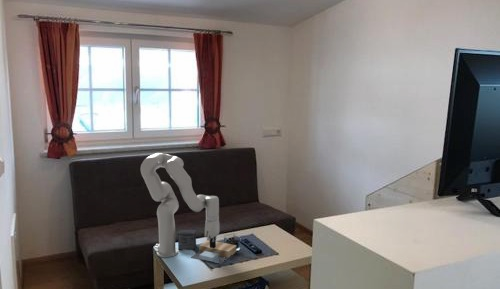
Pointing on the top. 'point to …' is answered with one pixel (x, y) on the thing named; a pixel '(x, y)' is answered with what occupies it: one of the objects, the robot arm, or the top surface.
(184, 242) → the small box
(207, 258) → the grey flat block
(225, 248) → the deck
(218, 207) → the robot arm
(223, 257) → the mat
